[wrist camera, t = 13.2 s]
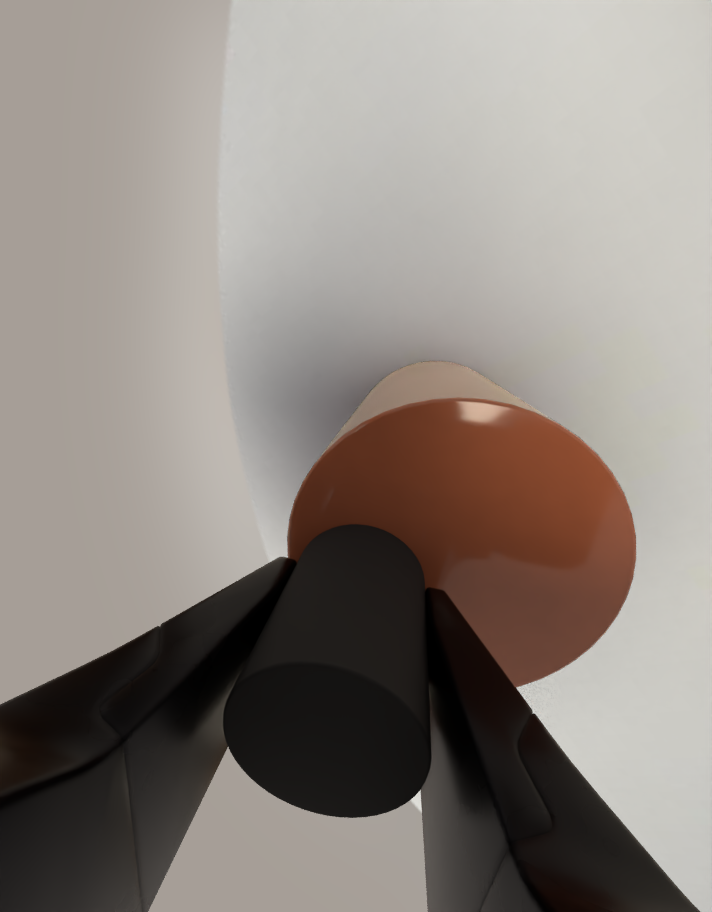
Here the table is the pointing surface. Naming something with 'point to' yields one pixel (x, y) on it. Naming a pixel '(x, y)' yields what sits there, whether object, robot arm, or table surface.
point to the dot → (339, 680)
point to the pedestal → (482, 510)
